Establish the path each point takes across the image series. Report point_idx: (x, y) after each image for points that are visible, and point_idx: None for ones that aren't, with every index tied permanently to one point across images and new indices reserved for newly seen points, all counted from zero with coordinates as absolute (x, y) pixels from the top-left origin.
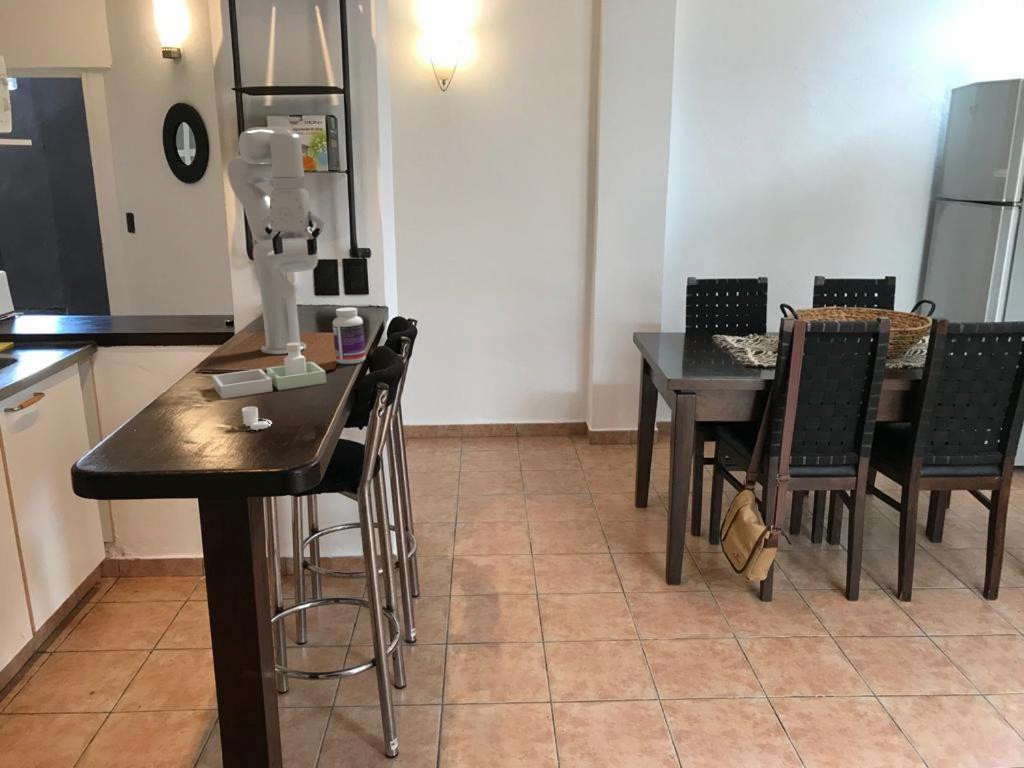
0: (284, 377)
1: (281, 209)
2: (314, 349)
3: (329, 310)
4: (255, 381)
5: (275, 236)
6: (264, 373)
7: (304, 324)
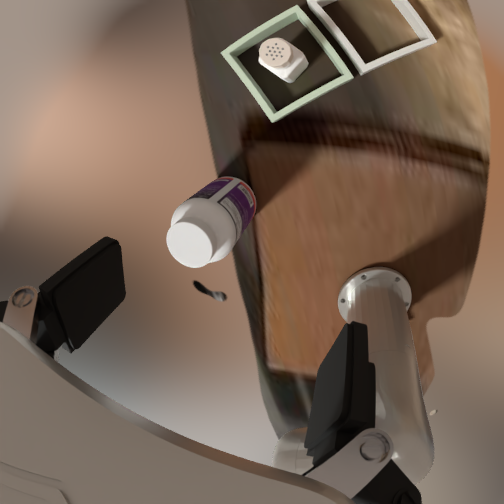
0: (286, 11)
1: None
2: (322, 294)
3: None
4: None
5: (340, 446)
6: (339, 36)
7: None
